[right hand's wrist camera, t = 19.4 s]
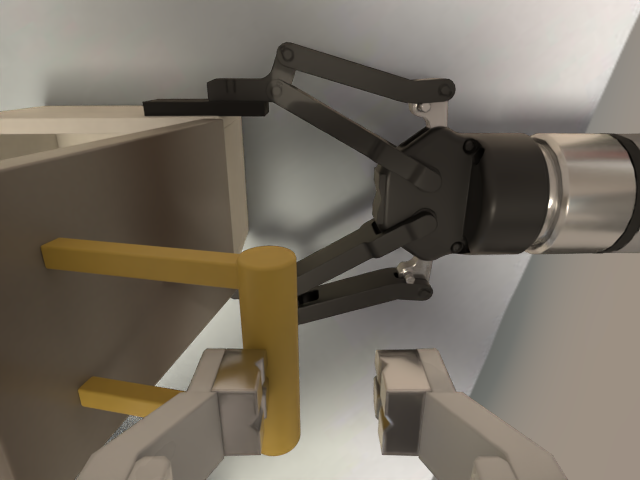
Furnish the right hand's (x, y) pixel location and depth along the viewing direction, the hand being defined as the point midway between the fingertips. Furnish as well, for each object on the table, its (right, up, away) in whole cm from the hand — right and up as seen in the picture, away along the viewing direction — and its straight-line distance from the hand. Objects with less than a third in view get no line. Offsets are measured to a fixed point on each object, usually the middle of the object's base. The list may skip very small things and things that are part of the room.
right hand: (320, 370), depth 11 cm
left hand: (-10, +6, +15) cm, 19 cm away
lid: (-8, +2, +6) cm, 10 cm away
